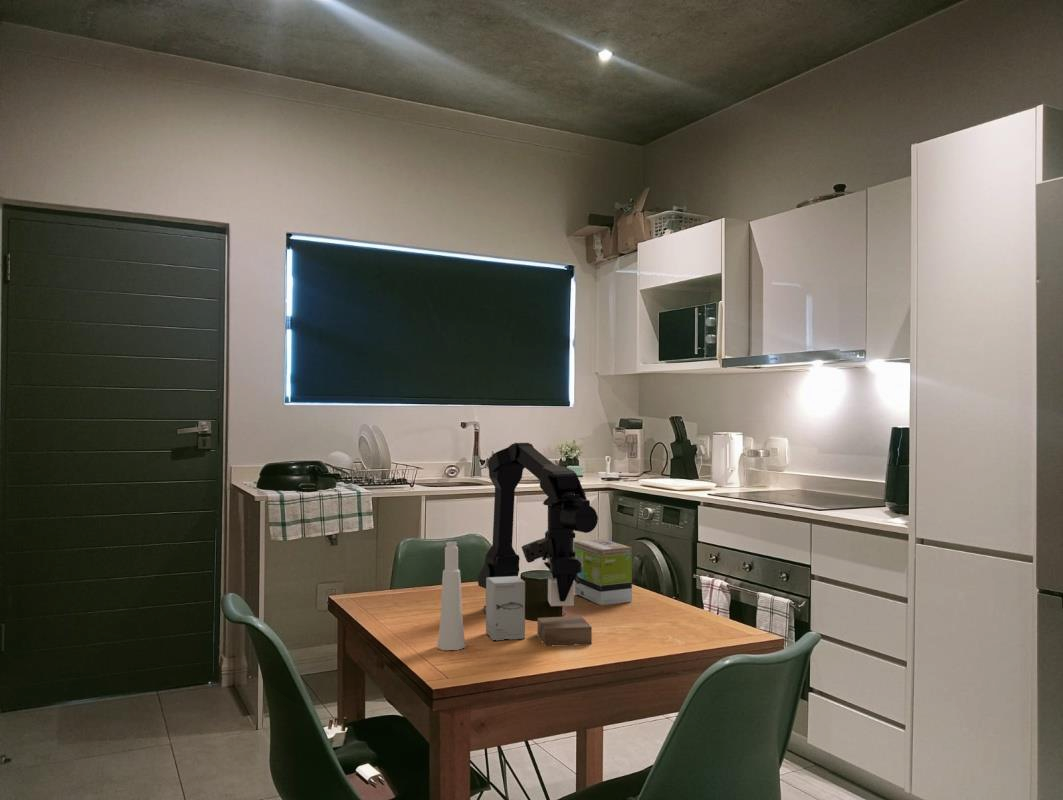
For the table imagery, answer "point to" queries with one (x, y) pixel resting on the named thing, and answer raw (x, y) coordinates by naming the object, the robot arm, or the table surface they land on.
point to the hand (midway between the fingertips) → (560, 598)
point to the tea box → (604, 571)
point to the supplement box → (505, 608)
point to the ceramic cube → (554, 595)
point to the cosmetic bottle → (451, 603)
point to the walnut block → (564, 630)
